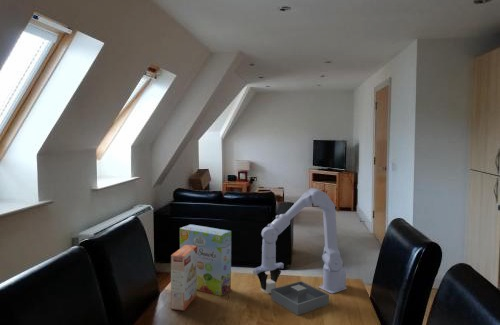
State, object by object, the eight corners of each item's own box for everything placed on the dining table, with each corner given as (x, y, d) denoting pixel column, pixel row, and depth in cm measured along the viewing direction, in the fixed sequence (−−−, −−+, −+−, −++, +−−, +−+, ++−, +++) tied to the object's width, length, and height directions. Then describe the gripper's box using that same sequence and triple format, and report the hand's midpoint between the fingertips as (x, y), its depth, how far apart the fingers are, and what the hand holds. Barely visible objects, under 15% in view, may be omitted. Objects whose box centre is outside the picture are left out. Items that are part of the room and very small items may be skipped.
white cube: (269, 287, 160) (269, 278, 160) (275, 291, 156) (276, 282, 156) (260, 290, 157) (261, 281, 157) (267, 294, 154) (267, 284, 153)
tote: (301, 290, 158) (301, 281, 157) (328, 304, 145) (329, 294, 144) (270, 299, 149) (271, 289, 149) (297, 315, 136) (297, 304, 135)
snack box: (178, 286, 160) (178, 227, 158) (190, 279, 168) (190, 223, 166) (221, 297, 150) (221, 234, 148) (232, 289, 158) (232, 229, 156)
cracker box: (185, 311, 138) (185, 256, 136) (170, 309, 139) (169, 255, 137) (198, 295, 151) (198, 245, 150) (184, 294, 153) (183, 244, 151)
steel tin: (298, 296, 150) (299, 284, 150) (306, 300, 146) (306, 288, 146) (290, 299, 148) (290, 286, 147) (297, 303, 144) (298, 290, 144)
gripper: (276, 250, 163) (276, 280, 164) (249, 256, 155) (248, 288, 156) (286, 254, 157) (286, 286, 158) (258, 261, 149) (258, 294, 150)
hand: (268, 287), depth 157 cm, fingers closed on white cube, 4 cm apart
